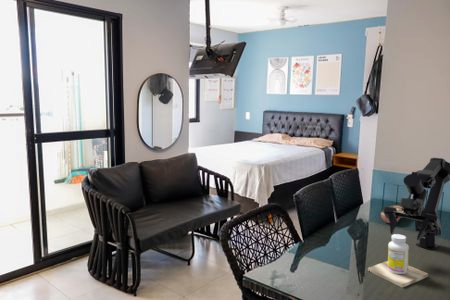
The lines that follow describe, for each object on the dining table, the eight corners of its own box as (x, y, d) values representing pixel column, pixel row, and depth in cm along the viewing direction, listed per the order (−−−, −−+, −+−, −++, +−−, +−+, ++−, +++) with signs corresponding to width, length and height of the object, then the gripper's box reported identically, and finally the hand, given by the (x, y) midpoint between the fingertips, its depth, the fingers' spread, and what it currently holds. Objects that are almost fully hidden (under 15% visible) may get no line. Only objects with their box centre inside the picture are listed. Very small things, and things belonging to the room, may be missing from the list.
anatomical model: (396, 227, 175) (396, 217, 174) (376, 223, 182) (376, 213, 181) (412, 216, 190) (413, 207, 190) (393, 212, 197) (393, 203, 197)
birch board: (392, 261, 138) (392, 258, 138) (427, 276, 126) (428, 273, 126) (367, 270, 132) (367, 267, 131) (402, 287, 119) (402, 284, 119)
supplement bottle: (397, 264, 133) (398, 231, 131) (412, 272, 127) (413, 238, 125) (383, 268, 130) (384, 234, 129) (398, 276, 124) (399, 241, 123)
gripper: (385, 185, 139) (372, 220, 133) (439, 193, 126) (427, 232, 120) (392, 200, 145) (380, 234, 139) (444, 209, 132) (434, 247, 126)
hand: (404, 236), depth 131 cm, fingers open, 9 cm apart
